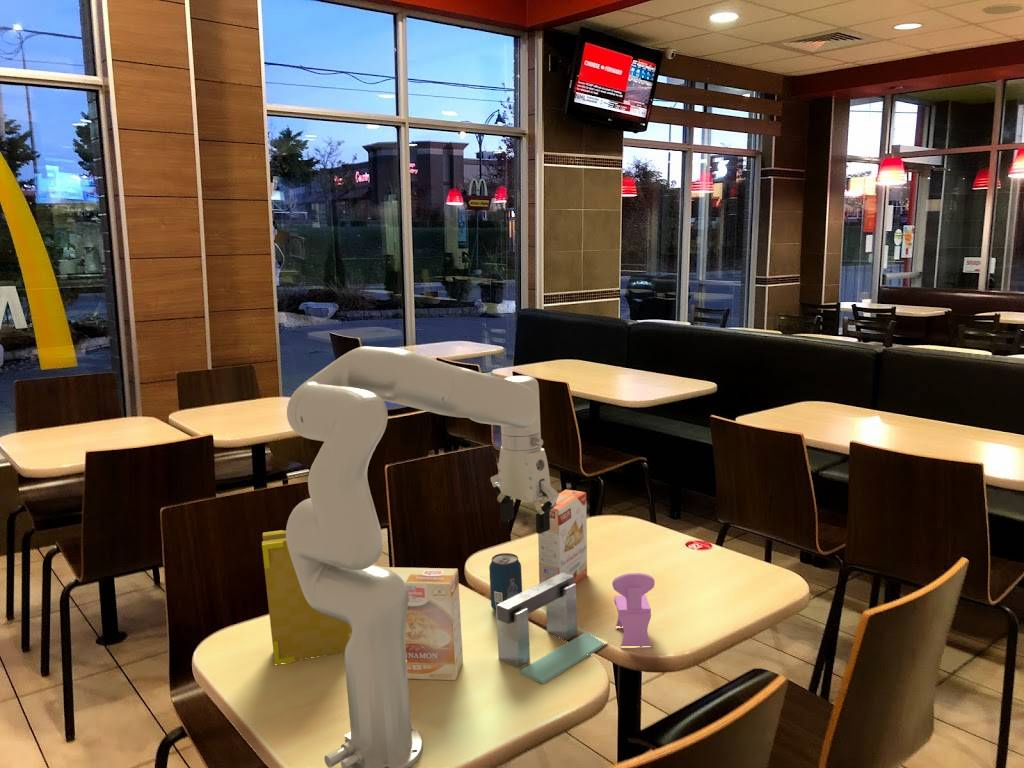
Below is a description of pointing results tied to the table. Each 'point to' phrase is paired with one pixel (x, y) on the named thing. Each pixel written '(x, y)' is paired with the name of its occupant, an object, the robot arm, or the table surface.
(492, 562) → the soda can
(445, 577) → the coffeecake box
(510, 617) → the rail
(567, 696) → the table surface
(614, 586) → the toy chair
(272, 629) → the book
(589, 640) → the mat
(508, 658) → the post near arm
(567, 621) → the post far
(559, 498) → the cracker box
